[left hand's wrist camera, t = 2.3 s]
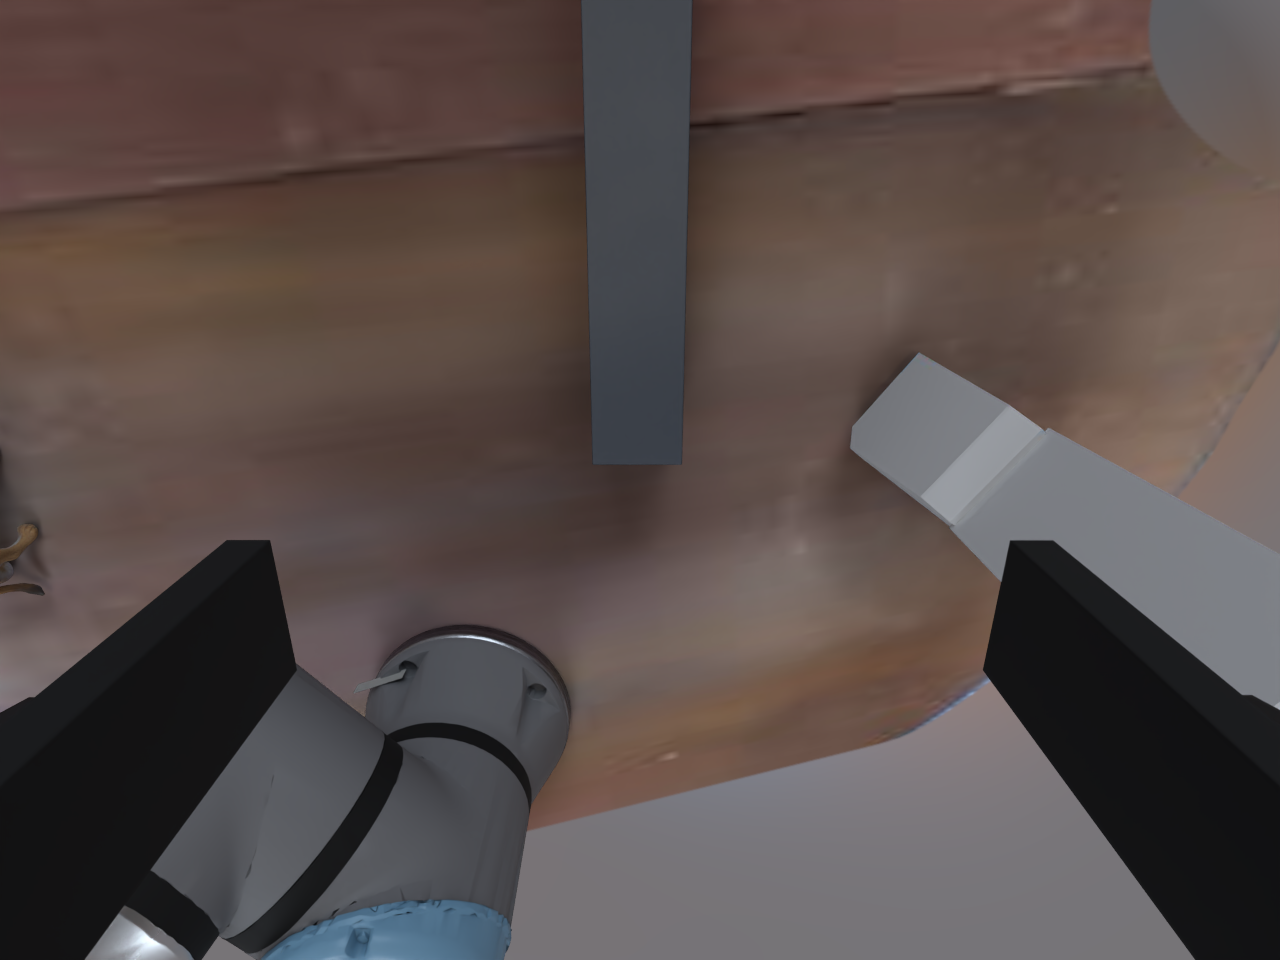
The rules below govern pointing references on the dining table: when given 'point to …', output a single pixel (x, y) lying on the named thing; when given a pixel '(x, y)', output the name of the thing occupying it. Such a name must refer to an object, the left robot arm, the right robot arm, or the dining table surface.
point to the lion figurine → (4, 570)
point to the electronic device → (1078, 517)
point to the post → (636, 223)
